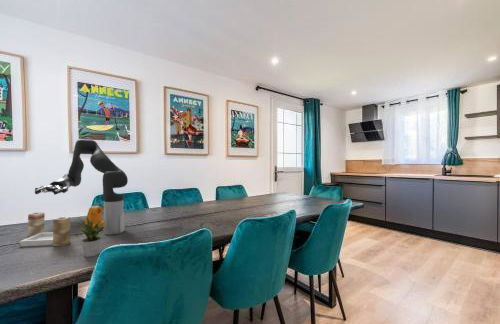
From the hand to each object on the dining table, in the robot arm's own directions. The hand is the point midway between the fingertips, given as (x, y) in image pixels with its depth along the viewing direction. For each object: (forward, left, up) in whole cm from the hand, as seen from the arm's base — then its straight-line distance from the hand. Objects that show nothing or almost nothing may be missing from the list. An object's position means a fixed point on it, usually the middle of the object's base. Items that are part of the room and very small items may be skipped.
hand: (45, 192), depth 129 cm
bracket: (-25, -4, -21) cm, 33 cm away
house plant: (-41, +41, -21) cm, 61 cm away
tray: (-13, +20, -21) cm, 31 cm away
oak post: (-23, +26, -21) cm, 40 cm away
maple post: (-1, +8, -21) cm, 22 cm away
